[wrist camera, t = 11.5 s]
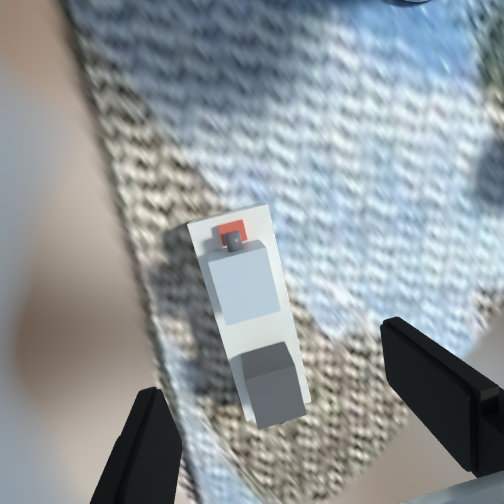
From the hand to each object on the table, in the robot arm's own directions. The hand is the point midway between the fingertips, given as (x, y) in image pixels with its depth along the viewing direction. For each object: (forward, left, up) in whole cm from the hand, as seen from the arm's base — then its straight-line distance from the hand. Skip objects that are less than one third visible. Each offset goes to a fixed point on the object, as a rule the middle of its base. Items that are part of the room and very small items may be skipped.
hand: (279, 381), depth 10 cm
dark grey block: (+12, 0, -20) cm, 23 cm away
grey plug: (0, 0, -20) cm, 20 cm away
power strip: (+6, 0, -20) cm, 21 cm away
